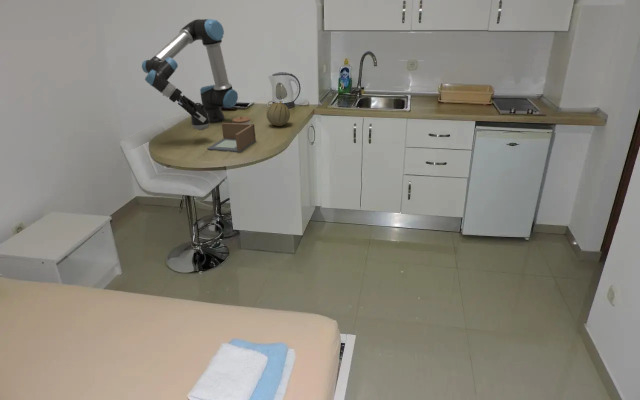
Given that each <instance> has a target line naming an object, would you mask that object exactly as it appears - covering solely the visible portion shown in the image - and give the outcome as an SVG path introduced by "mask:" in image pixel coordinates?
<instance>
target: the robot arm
mask: <svg viewBox="0 0 640 400" xmlns="http://www.w3.org/2000/svg"><path fill="white" fill-rule="evenodd" d="M224 35H225V31H224V27H223V25H222V23H221V22H220V21H218V19H217V20H216V19H212V18H210V19H209V18H207V19H206V18H204V19H200V18H199V19H197V18H196V19H194V20H192V21H190V22H189V23H187V24H185V25H184V26H183V27H182V28H180V30H179V33H177V35H176V36H175V37H174V38H173V39H172V40H170V42H168V43H167V44H166V45H165V46H164V47H162V49H160V50H159V51H158V52H157V53H156V54H155V55H154V56H153V57H152V58H150V59H146V60H144V61H142V62H141V68H142V71H143V72H144V73H146V74H147V75H145V78H144V80H145V82H146V83H148V85H150V86H151V87H153V88H154V89H156V90H157V91H158V92H160V94H162V96H164V97H166V98H168V99H169V100H170V101H171V102H172V103H176V102H177V104H178V106H180V107H181V108H182V109H183V110H185V111H186V112H187V113H188V114H189V115H191V116H195V117H196V118H198V119H199V120H200V121H202V122H203V123H204V121H205V120H206V118H205V117H203V116H202V115H201V114H199V113H198V112H196V111H195V110H194V109H193V105H194V104H195V103H196V102H194V101H193V100H191V99H190V98H188V97H187V96H185V95H184V94H183V95H182V93H183V91H181V90H180V89H179V88H176V86H175V85H174V84H173V83H171V82H170V81H169V79H170V78H171V77H172V76H173V74H174V73H175V72H176V69H178V63H177V61H176V60H175V59H174V58H175V57H176V56H177V55H178V54H179V53H180V52H181V51H183V50H184V48H186V47H187V46H188V45H191V44H193V43H194V42H195V41H201V43H202V46H204V47H205V49H206V52H207V56H208V60H209V64H210V65H209V66H210V68H211V69H210V70H211V74H212V77H213V81H214V84H212V85H211V84H209V85H205V86H202V87H201V88H200V89H199V90H200V91H199V93H200V98H201V99H200V100H201V104H202V105H205V107H204V108H205V110H206V112H207V114H208V117H209V121H210V122H209V124H215V123H221V122H224V121H225V119H226V118H225V114H224V113H223V110H222V108H227V109H229V108H233V107H234V106H235V105H236V104H237V102H238V98H239V96H238V92H237V91H236V90H235V89H233V86H232V83H230V82H229V78H228V74H227V69H226V66H225V60H224V56H223V51H222V48H221V45H222V42H223V41H222V39H223V38H224ZM221 107H222V108H221ZM191 116H190V117H191Z"/></svg>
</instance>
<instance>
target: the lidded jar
mask: <svg viewBox="0 0 640 400" xmlns="http://www.w3.org/2000/svg"><path fill="white" fill-rule="evenodd" d="M232 123H238V124H251V118H250V117H249V116H242V115H241V116H238V117H235V118H233V119H232Z"/></svg>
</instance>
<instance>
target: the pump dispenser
mask: <svg viewBox="0 0 640 400" xmlns="http://www.w3.org/2000/svg"><path fill="white" fill-rule="evenodd" d="M194 103H195V104H194V105H193V109H194V110H195V111H196V112H198V113H199V114H201V115H202V116H203V117H205V118H206V120H205V121H204V123H203V122H202V121H200V120H199V119H198V118H196V117H195V116H190V121H191V125H192V127H193V129H195V130H197V131H204V130H206V129H208V128H209V126H210V123H209V122H210V121H209V117H208V114H207V112H206V110H205V108H204V107H205V105H202V102H194Z"/></svg>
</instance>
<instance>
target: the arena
mask: <svg viewBox="0 0 640 400" xmlns="http://www.w3.org/2000/svg"><path fill="white" fill-rule="evenodd" d="M221 130H222V131H221V132H222V136H223V137H222V139H220V140H218V141H216V142H215V143H213V144H212V145H211V146H209V147H207V148H206V149H207V151H213V150H218V151H217V152H227V151H230V152H229V153H242V152H243V151H245V150H246V149H247V148H248V147H250V146H251V145H253V144H254V143H256V141H257V139H256V130H255V124H252V123H250V124H238V123H233V122H222V123H221Z"/></svg>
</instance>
